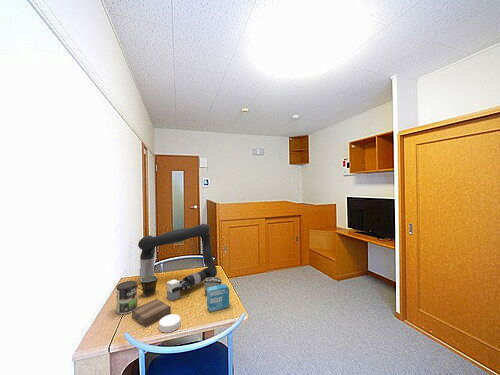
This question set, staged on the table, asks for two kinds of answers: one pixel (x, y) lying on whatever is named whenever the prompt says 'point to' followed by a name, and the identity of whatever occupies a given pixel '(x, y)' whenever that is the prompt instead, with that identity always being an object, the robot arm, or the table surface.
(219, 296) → the data package
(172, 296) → the block
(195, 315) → the table surface
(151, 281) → the ceramic cup
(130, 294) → the coffee can
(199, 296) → the table surface
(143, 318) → the walnut stand
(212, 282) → the food container
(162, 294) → the table surface
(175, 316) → the coaster
